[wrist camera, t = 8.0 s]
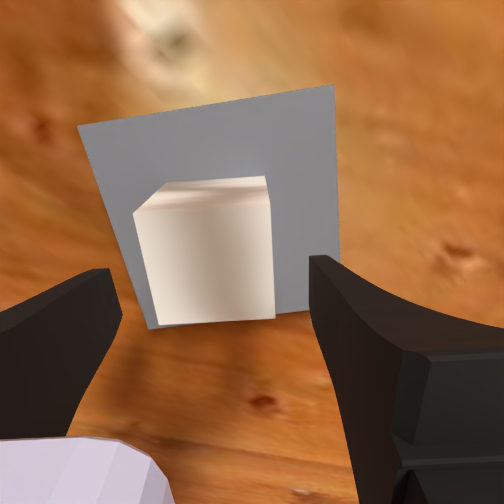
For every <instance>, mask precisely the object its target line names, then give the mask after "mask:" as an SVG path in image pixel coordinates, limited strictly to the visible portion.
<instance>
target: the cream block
mask: <svg viewBox="0 0 504 504" xmlns="http://www.w3.org/2000/svg"><path fill="white" fill-rule="evenodd" d="M133 217H134V221H135V226H136V230H137V234H138V238H139V243H140V247H141V251H142V255H143V260H144V264H145V268H146V272H147V277H148V281H149V285H150V289H151V294H152V298H153V302H154V307H155V311H156V315H157V319H158V324H159V325H170V324H187V323H205V322H222V321H239V320H256V319H273V318H275V296H274V274H273V252H272V231H271V209H270V200H269V195H268V190H267V185H266V179H265V176H255V177H240V178H226V179H211V180H197V181H183V182H168V183H165V184H164V185H163V186H162V187H161V188H160V189H158V190H157V191H156V192H155V193H154V194H153V195H152V196H151V197H150V198H149V199H148V200H147V201H146V202H145V203H144V204H143V205H141V206H140V207H139V208H138V209H137V210H136V211H135V212H134V213H133Z"/></svg>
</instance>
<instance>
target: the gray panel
mask: <svg viewBox="0 0 504 504" xmlns="http://www.w3.org/2000/svg"><path fill="white" fill-rule="evenodd" d="M77 127H78V130H79V133H80V136H81V139H82V142H83V144H84V147H85V150H86V153H87V156H88V159H89V162H90V164H91V167H92V170H93V173H94V176H95V179H96V181H97V184H98V187H99V190H100V193H101V196H102V199H103V201H104V204H105V207H106V210H107V213H108V216H109V219H110V221H111V224H112V227H113V230H114V233H115V236H116V238H117V241H118V244H119V247H120V250H121V253H122V256H123V258H124V261H125V264H126V267H127V270H128V273H129V275H130V278H131V281H132V284H133V287H134V290H135V293H136V295H137V298H138V301H139V304H140V307H141V310H142V313H143V315H144V318H145V321H146V324H147V327H148V330H149V329H158V328H166V327H174V326H182V325H191V324H199V323H187V324H170V325H159V324H158V319H157V315H156V311H155V307H154V302H153V298H152V294H151V289H150V285H149V281H148V277H147V272H146V268H145V264H144V260H143V255H142V251H141V247H140V243H139V238H138V234H137V230H136V226H135V221H134V217H133V213H134V212H135V211H136V210H137V209H138V208H139V207H140V206H141V205H143V204H144V203H145V202H146V201H147V200H148V199H149V198H150V197H151V196H152V195H153V194H154V193H155V192H156V191H157V190H158V189H160V188H161V187H162V186H163V185H164V184H165V183H168V182H183V181H197V180H211V179H226V178H240V177H255V176H265V179H266V185H267V190H268V195H269V200H270V209H271V231H272V252H273V274H274V296H275V314H281V313H289V312H297V311H306V310H310V309H309V256H312V255H328V256H330V257H331V258H333V259H334V260H336V261H337V262H339V263H340V243H339V213H338V184H337V154H336V125H335V95H334V84H333V85H327V86H321V87H314V88H308V89H302V90H296V91H290V92H284V93H277V94H271V95H265V96H259V97H253V98H246V99H240V100H234V101H228V102H222V103H216V104H209V105H203V106H197V107H191V108H185V109H179V110H172V111H166V112H160V113H154V114H148V115H142V116H135V117H129V118H123V119H117V120H111V121H105V122H98V123H92V124H86V125H80V126H77ZM205 323H207V322H205Z"/></svg>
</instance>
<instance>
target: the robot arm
mask: <svg viewBox="0 0 504 504" xmlns="http://www.w3.org/2000/svg"><path fill="white" fill-rule="evenodd" d="M309 309H310V314H311V319H312V324H313V328H314V331H315V334H316V337H317V340H318V343H319V345H320V348H321V351H322V354H323V357H324V360H325V362H326V365H327V368H328V371H329V374H330V377H331V380H332V383H333V386H334V390H335V393H336V397H337V402H338V406H339V410H340V414H341V419H342V423H343V428H344V432H345V437H346V441H347V446H348V450H349V455H350V460H351V464H352V469H353V474H354V479H355V484H356V488H357V493H358V498H359V504H504V328H499V327H494V326H489V325H484V324H480V323H476V322H472V321H468V320H464V319H460V318H456V317H453V316H450V315H446V314H443V313H440V312H437V311H434V310H431V309H428V308H425V307H422V306H419V305H417V304H414V303H412V302H409V301H407V300H404V299H402V298H400V297H398V296H395V295H393V294H391V293H389V292H387V291H385V290H383V289H381V288H379V287H377V286H375V285H374V284H372V283H370V282H368V281H367V280H365V279H363V278H362V277H360V276H358V275H357V274H355V273H354V272H352V271H350V270H349V269H347V268H346V267H344V266H343V265H342V264H340V263H339V262H337V261H336V260H334V259H333V258H331V257H330V256H328V255H312V256H309ZM122 316H123V314H122V311H121V307H120V304H119V300H118V297H117V293H116V290H115V286H114V283H113V280H112V276H111V273H110V269H109V268H105V269H92V270H89V271H86V272H84V273H81V274H79V275H77V276H75V277H73V278H70V279H68V280H66V281H64V282H62V283H60V284H58V285H56V286H54V287H52V288H50V289H48V290H46V291H44V292H42V293H41V294H38V295H36V296H34V297H32V298H30V299H28V300H26V301H24V302H22V303H20V304H17V305H15V306H13V307H11V308H9V309H7V310H5V311H2V312H0V504H175V502H174V499H173V496H172V493H171V489H170V486H169V483H168V479H167V478H166V477H165V475H164V474H163V472H162V471H161V470H160V468H159V467H158V466H157V464H156V463H155V462H154V460H153V459H152V458H151V457H150V455H149V454H148V453H146V452H144V451H142V450H140V449H138V448H136V447H134V446H132V445H130V444H128V443H126V442H124V441H122V440H119V439H111V438H103V437H94V436H86V435H85V436H66V434H67V431H68V429H69V427H70V424H71V422H72V419H73V417H74V415H75V412H76V410H77V408H78V405H79V403H80V401H81V399H82V397H83V395H84V393H85V391H86V389H87V388H88V386H89V384H90V382H91V380H92V379H93V377H94V375H95V373H96V371H97V370H98V368H99V366H100V364H101V362H102V361H103V359H104V357H105V355H106V353H107V351H108V349H109V348H110V346H111V344H112V342H113V340H114V338H115V335H116V333H117V330H118V328H119V325H120V322H121V319H122Z"/></svg>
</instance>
